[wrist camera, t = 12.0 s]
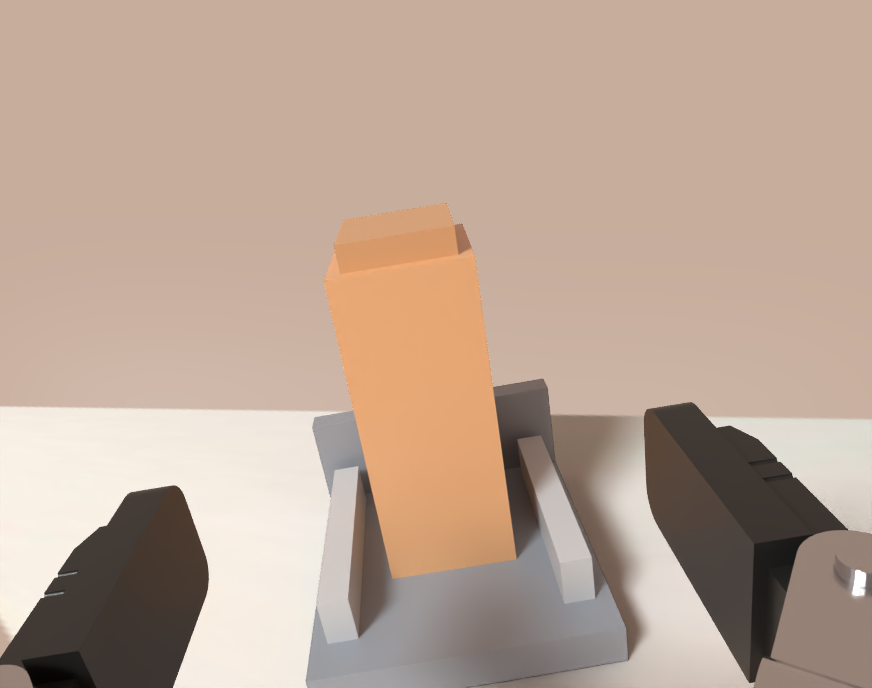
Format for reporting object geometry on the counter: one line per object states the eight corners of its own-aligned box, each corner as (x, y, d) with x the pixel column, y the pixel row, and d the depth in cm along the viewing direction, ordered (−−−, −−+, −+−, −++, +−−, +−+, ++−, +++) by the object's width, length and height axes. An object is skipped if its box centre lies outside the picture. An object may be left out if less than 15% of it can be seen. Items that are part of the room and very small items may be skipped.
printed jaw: (499, 486, 25) (458, 198, 21) (516, 559, 21) (470, 226, 17) (393, 503, 25) (331, 219, 21) (392, 579, 21) (317, 251, 17)
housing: (553, 475, 27) (543, 378, 25) (627, 660, 19) (620, 532, 17) (338, 511, 27) (314, 417, 25) (315, 713, 19) (276, 591, 17)
